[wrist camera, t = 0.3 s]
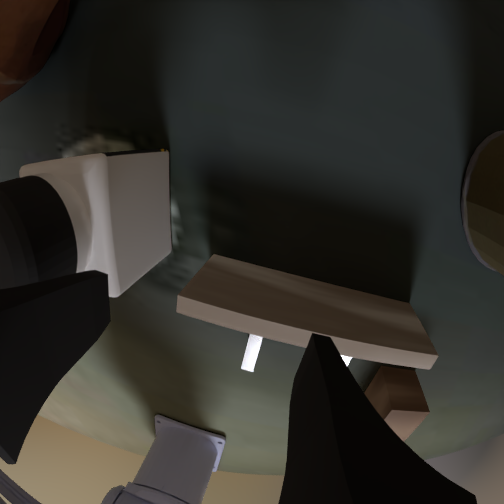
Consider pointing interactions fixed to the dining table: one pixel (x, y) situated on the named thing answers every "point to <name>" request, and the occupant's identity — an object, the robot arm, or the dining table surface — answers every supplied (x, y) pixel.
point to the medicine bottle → (86, 218)
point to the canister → (485, 202)
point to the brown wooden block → (398, 399)
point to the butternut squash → (27, 39)
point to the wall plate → (306, 312)
